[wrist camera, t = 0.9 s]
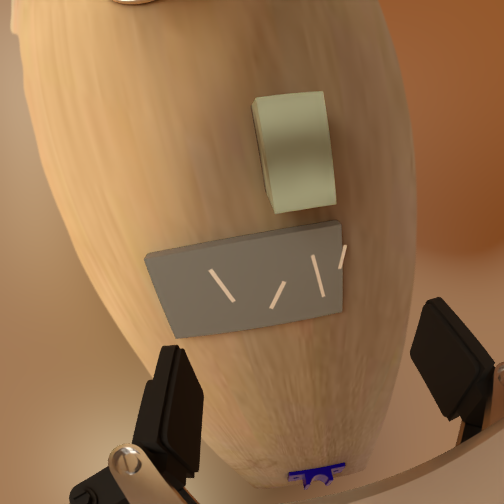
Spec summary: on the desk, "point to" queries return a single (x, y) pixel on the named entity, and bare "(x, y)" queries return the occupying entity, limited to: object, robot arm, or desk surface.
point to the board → (250, 280)
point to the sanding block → (295, 150)
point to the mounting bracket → (316, 474)
